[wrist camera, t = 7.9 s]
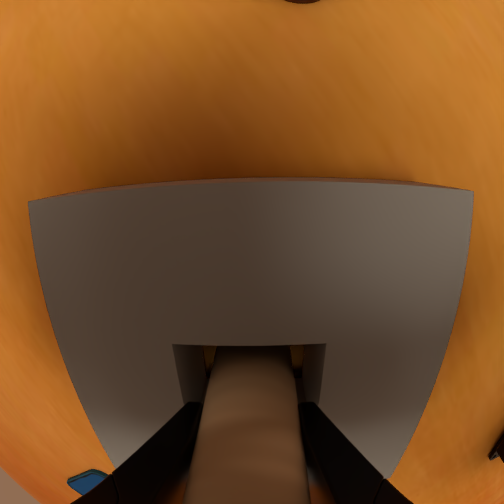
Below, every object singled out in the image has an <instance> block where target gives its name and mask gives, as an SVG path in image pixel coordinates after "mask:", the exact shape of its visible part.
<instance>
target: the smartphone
mask: <svg viewBox="0 0 504 504" xmlns="http://www.w3.org/2000/svg"><path fill="white" fill-rule="evenodd" d="M107 476H108V474H106V473H104V472H102V471H99V470H95V469H91V470H88V471H86V472H84V473H81V474H80V475H77V476H74V477H71V478H69V479H68V480H67V484H68V485H69V486H70V487H71V488H72V489H74V490H75V491H77V492H78V493H80V494H81V495H84V494H86V493H87V492H89V491H90V490H91V489H93V488H94V487H95V486H96V485H98V484H99V483H100V482H101V481H102V480H104V479H105V478H106V477H107Z"/></svg>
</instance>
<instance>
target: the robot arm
mask: <svg viewBox="0 0 504 504" xmlns="http://www.w3.org/2000/svg"><path fill="white" fill-rule="evenodd" d="M203 406H204V405H203V403H202V402H193V401H189V402H187V403H186V404H185V405H184V406H183V407H182V408H181V409H180V410H179V411H178V412H177V413H176V414H175V415H174V416H173V417H172V418H170V419H169V420H168V421H167V422H166V423H165V424H164V425H163V426H162V427H161V428H160V429H159V430H158V431H157V432H156V433H155V434H154V435H153V436H152V437H151V438H149V439H148V440H147V441H146V442H145V443H144V444H143V445H142V446H141V447H140V448H139V449H138V450H136V451H135V452H134V453H133V454H132V455H131V456H130V457H129V458H128V459H127V460H125V461H124V462H123V463H122V464H121V465H120V466H119V467H118V468H116V469H115V470H114V471H113V472H112V474H109V475H108V476H107V477H106V478H105V479H104V480H102V481H101V482H100V483H99V484H98V485H96V486H95V487H94V488H93V489H91V490H90V491H89V492H87V493H86V494H84V495H83V496H81V497H80V498H78V499H77V500H75V501H74V502H72V503H70V504H182V502H183V498H184V493H185V488H186V483H187V479H188V474H189V469H190V465H191V460H192V456H193V451H194V446H195V442H196V437H197V433H198V428H199V424H200V419H201V415H202V410H203ZM298 408H299V415H300V422H301V429H302V436H303V444H304V450H305V458H306V465H307V473H308V481H309V489H310V498H311V504H413V503H412V502H411V501H410V500H408V499H407V498H406V497H405V496H404V495H403V494H401V493H400V492H399V491H398V490H397V489H396V488H395V487H394V486H393V485H392V484H391V483H390V482H389V481H388V480H387V479H386V478H384V476H383V475H382V474H381V473H380V472H379V471H378V470H377V469H376V468H375V467H374V466H373V465H372V464H371V463H370V462H369V461H368V460H367V459H366V458H365V457H364V456H363V454H362V453H361V452H360V451H359V450H358V449H357V448H356V447H355V446H354V445H353V444H352V443H351V442H350V441H349V440H348V439H347V437H346V436H345V435H344V434H343V433H342V432H341V431H340V430H339V429H338V428H337V427H336V426H335V424H334V423H333V422H332V421H331V420H330V419H329V418H328V417H327V416H326V414H325V413H324V412H323V411H322V410H321V409H320V408H319V407H318V406H317V404H316V403H315V402H313V401H309V402H300V403H299V405H298ZM499 456H500V458H501V459H502V461H503V463H504V435H503V436H502V438H501V439H500V441H499V442H498V444H497V445H496V446H495V448H494V449H493V451H492V452H491V454H490V455H489V456H488V458H489V459H490V460H493V459H495V458H497V457H499ZM383 478H384V479H383Z"/></svg>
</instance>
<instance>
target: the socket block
mask: <svg viewBox="0 0 504 504" xmlns="http://www.w3.org/2000/svg"><path fill="white" fill-rule="evenodd" d="M473 197H474V191H470V190H464V189H458V188H452V187H446V186H440V185H433V184H426V183H419V182H409V181H395V180H378V179H357V178H324V177H258V178H224V179H202V180H185V181H170V182H157V183H145V184H134V185H124V186H114V187H105V188H97V189H89V190H83V191H77V192H72V193H67V194H62V195H57V196H52V197H47V198H42V199H38V200H33V201H29V202H28V207H29V216H30V225H31V232H32V239H33V245H34V251H35V256H36V262H37V267H38V272H39V276H40V281H41V285H42V290H43V294H44V298H45V302H46V305H47V309H48V313H49V316H50V320H51V323H52V327H53V330H54V333H55V336H56V339H57V342H58V345H59V348H60V351H61V354H62V357H63V360H64V362H65V365H66V368H67V370H68V373H69V375H70V378H71V380H72V383H73V385H74V388H75V390H76V392H77V395H78V397H79V399H80V402H81V404H82V406H83V408H84V410H85V413H86V415H87V417H88V419H89V421H90V423H91V425H92V427H93V429H94V431H95V433H96V435H97V437H98V438H99V440H100V442H101V444H102V446H103V448H104V449H105V451H106V453H107V455H108V457H109V458H110V460H111V462H112V463H113V465H114V467H115V468H118V467H119V466H120V465H121V464H122V463H123V462H124V461H125V460H127V459H128V458H129V457H130V456H131V455H132V454H133V453H134V452H135V451H136V450H138V449H139V448H140V447H141V446H142V445H143V444H144V443H145V442H146V441H147V440H148V439H149V438H151V437H152V436H153V435H154V434H155V433H156V432H157V431H158V430H159V429H160V428H161V427H162V426H163V425H164V424H165V423H166V422H167V421H168V420H169V419H170V418H172V417H173V416H174V415H175V414H176V413H177V412H178V411H179V410H180V409H181V408H182V407H183V406H184V405H185V404H186V403H187V402H189V401H193V402H202V403H203V405H204V401H205V397H206V392H207V388H208V383H209V379H206V371H205V364H204V356H203V348H202V345H213V346H271V345H301V344H304V358H303V371H302V378H294V379H295V386H296V393H297V400H298V405H299V403H300V402H309V401H313V402H315V403H316V404H317V406H318V407H319V408H320V409H321V410H322V411H323V412H324V413H325V414H326V416H327V417H328V418H329V419H330V420H331V421H332V422H333V423H334V424H335V426H336V427H337V428H338V429H339V430H340V431H341V432H342V433H343V434H344V435H345V436H346V437H347V439H348V440H349V441H350V442H351V443H352V444H353V445H354V446H355V447H356V448H357V449H358V450H359V451H360V452H361V453H362V454H363V456H364V457H365V458H366V459H367V460H368V461H369V462H370V463H371V464H372V465H373V466H374V467H375V468H376V469H377V470H378V471H379V472H380V473H381V474H382V475H383V476H384V478H386V479H387V478H390V477H391V475H392V474H393V472H394V470H395V468H396V467H397V465H398V463H399V461H400V459H401V457H402V456H403V454H404V452H405V450H406V448H407V446H408V444H409V442H410V440H411V438H412V436H413V434H414V432H415V429H416V427H417V425H418V423H419V421H420V418H421V416H422V414H423V412H424V409H425V407H426V404H427V402H428V400H429V397H430V395H431V392H432V389H433V387H434V384H435V381H436V379H437V376H438V373H439V370H440V367H441V364H442V361H443V358H444V355H445V352H446V349H447V345H448V342H449V339H450V335H451V332H452V328H453V324H454V320H455V316H456V312H457V308H458V304H459V299H460V295H461V290H462V285H463V280H464V274H465V269H466V263H467V256H468V249H469V242H470V233H471V224H472V212H473ZM384 478H383V479H384Z"/></svg>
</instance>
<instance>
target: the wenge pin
mask: <svg viewBox="0 0 504 504" xmlns="http://www.w3.org/2000/svg"><path fill="white" fill-rule="evenodd" d="M286 1H289V2H294V3H312V2H316V1H319V0H286Z"/></svg>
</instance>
